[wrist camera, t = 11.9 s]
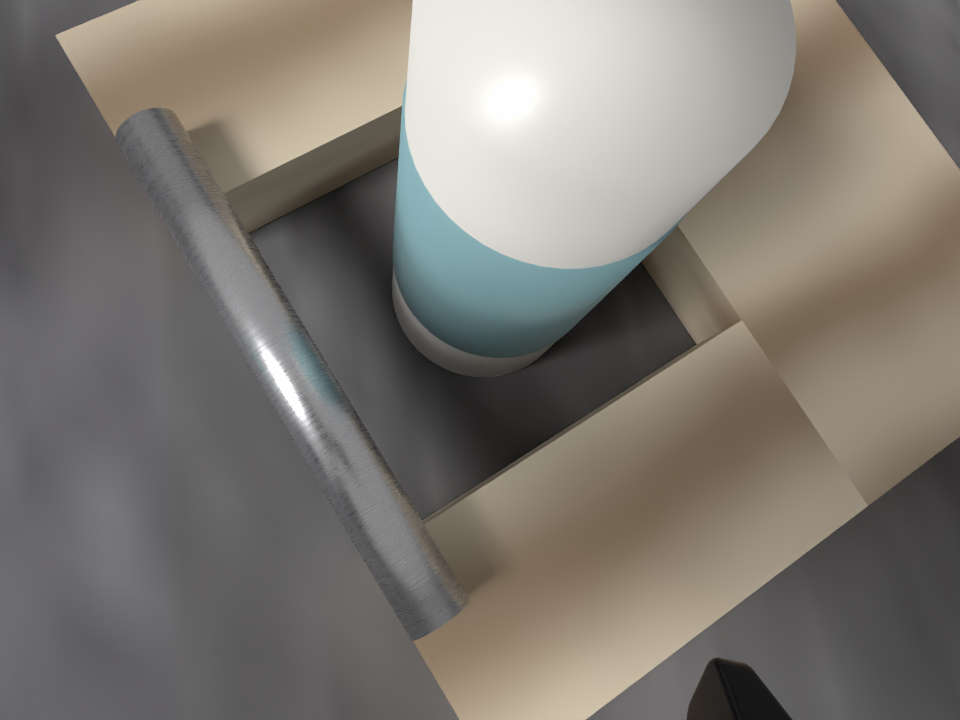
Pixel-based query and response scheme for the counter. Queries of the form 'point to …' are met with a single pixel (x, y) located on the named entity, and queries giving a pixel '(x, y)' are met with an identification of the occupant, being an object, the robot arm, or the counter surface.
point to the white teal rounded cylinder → (563, 155)
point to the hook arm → (293, 373)
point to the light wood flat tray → (664, 393)
